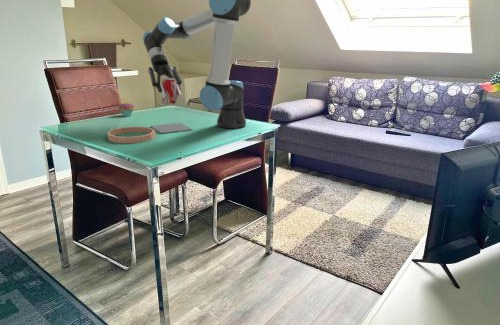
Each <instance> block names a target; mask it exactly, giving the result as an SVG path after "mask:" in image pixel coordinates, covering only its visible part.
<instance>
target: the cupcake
mask: <svg viewBox="0 0 500 325" xmlns="http://www.w3.org/2000/svg"><path fill="white" fill-rule="evenodd" d="M122 100H123V103H121V104H119V105H118V110H119V111H120V113H121V115H122V117H126V118H127V117H131V116H132V114H133V112H134V110H135V106H134V104H131V103H128V102H126V100H125V96H124V95H122Z"/></svg>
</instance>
